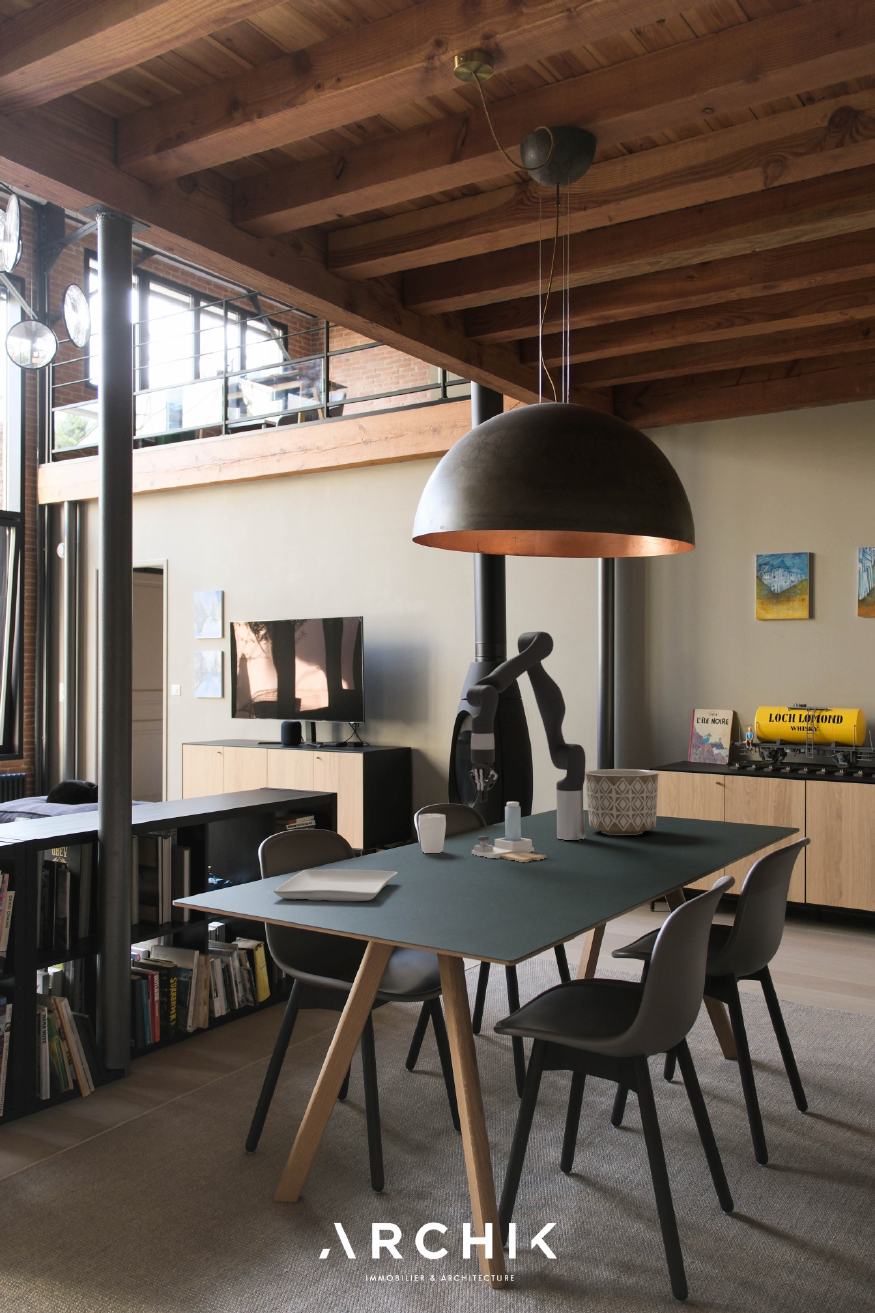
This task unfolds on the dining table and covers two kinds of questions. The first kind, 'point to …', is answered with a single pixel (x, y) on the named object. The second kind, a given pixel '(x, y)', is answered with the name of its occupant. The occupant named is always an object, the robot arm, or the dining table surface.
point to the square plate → (335, 884)
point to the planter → (622, 800)
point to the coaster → (523, 856)
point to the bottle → (512, 822)
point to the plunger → (483, 840)
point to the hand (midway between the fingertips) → (483, 801)
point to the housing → (503, 848)
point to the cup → (432, 832)
